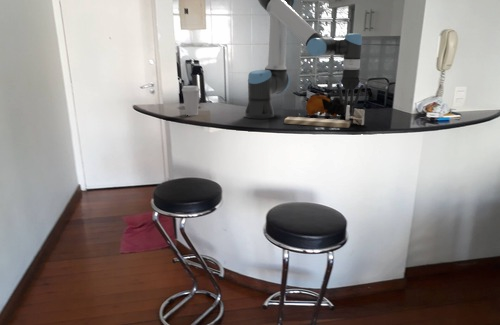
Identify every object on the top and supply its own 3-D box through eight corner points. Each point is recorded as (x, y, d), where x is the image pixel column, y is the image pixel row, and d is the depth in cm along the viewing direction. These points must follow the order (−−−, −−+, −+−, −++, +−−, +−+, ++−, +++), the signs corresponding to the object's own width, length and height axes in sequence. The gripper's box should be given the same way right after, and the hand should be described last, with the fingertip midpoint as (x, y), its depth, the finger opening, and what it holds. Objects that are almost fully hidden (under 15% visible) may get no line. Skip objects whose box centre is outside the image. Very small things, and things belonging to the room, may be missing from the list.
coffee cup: (189, 116, 200) (187, 87, 196) (179, 114, 207) (177, 86, 203) (204, 114, 206) (203, 86, 202) (194, 112, 213) (193, 85, 209)
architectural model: (359, 126, 179) (361, 110, 176) (347, 124, 183) (348, 109, 181) (363, 125, 181) (365, 109, 179) (351, 123, 186) (352, 108, 183)
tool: (341, 131, 199) (354, 105, 193) (301, 113, 202) (313, 86, 196) (342, 128, 206) (355, 103, 200) (303, 110, 209) (315, 84, 203)
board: (284, 123, 184) (284, 119, 183) (288, 120, 190) (288, 116, 189) (348, 127, 174) (348, 123, 173) (350, 124, 180) (350, 120, 179)
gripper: (335, 69, 177) (332, 119, 184) (365, 69, 172) (360, 121, 179) (338, 68, 184) (334, 117, 191) (366, 68, 179) (362, 118, 186)
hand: (347, 119), depth 185 cm, fingers closed
